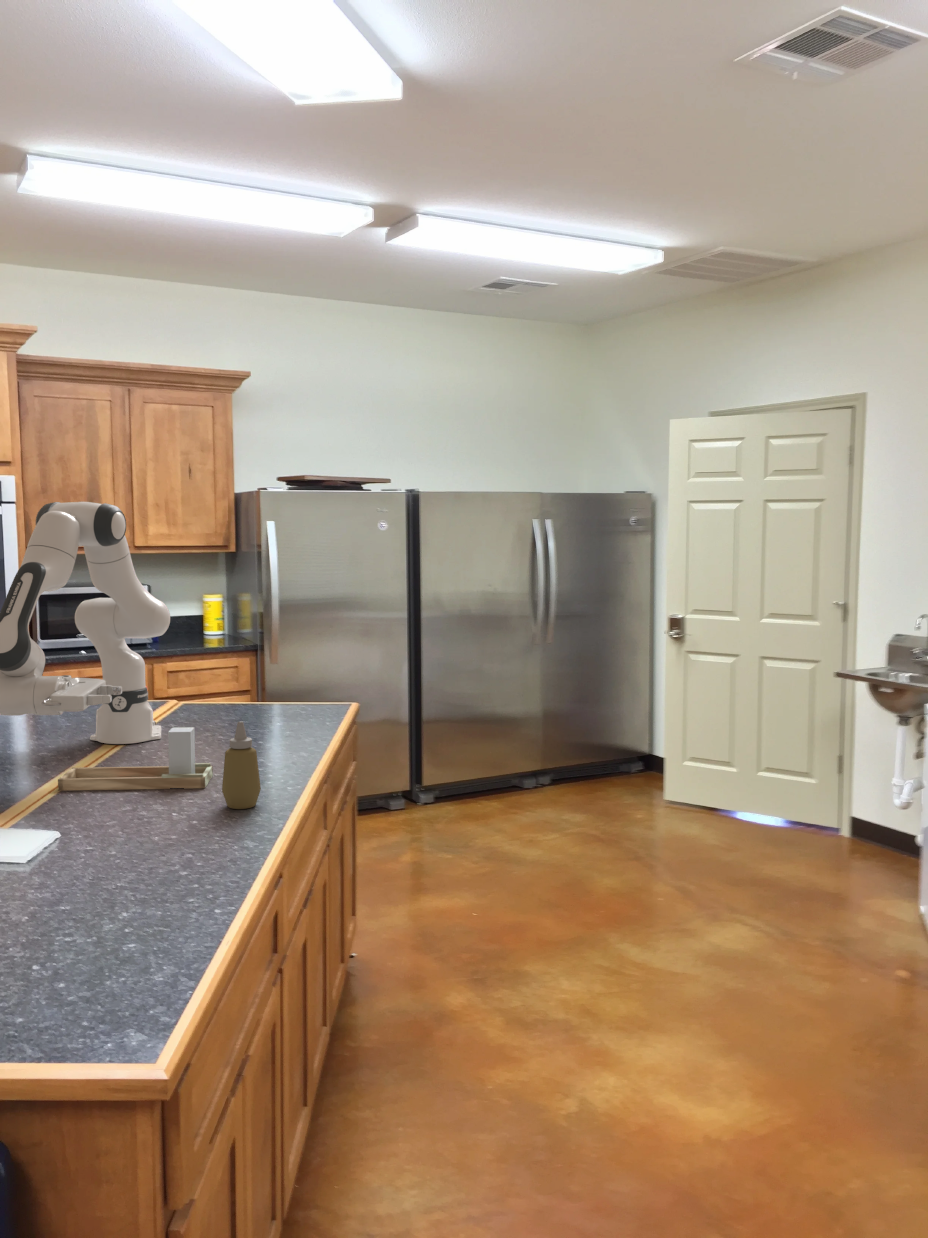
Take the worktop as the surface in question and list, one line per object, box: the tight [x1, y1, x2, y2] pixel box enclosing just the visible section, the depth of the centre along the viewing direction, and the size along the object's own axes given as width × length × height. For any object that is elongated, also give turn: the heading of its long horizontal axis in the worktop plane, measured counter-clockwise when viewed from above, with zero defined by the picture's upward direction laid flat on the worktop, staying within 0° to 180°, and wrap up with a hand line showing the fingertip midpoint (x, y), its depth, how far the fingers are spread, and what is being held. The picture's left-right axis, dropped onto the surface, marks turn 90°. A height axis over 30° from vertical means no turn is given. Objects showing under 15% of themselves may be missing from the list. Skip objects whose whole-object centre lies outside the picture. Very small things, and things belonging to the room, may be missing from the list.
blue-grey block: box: [167, 726, 196, 774], centre depth 228 cm, size 5×5×12 cm
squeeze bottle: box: [221, 721, 262, 810], centre depth 209 cm, size 8×8×18 cm
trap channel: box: [57, 762, 214, 792], centre depth 228 cm, size 11×32×3 cm, turn 95°
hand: (116, 694), depth 226 cm, fingers open, 8 cm apart
